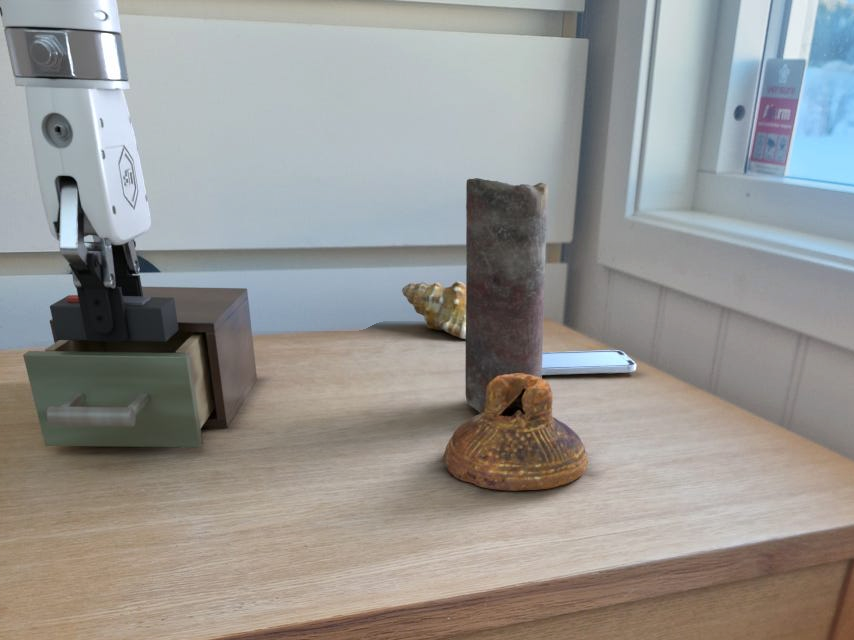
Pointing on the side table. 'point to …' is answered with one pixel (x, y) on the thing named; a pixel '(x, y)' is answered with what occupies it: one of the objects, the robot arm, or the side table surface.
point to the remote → (143, 315)
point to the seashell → (440, 305)
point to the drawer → (123, 392)
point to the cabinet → (217, 341)
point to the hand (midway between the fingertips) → (118, 330)
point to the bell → (516, 440)
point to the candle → (503, 282)
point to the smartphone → (586, 362)
